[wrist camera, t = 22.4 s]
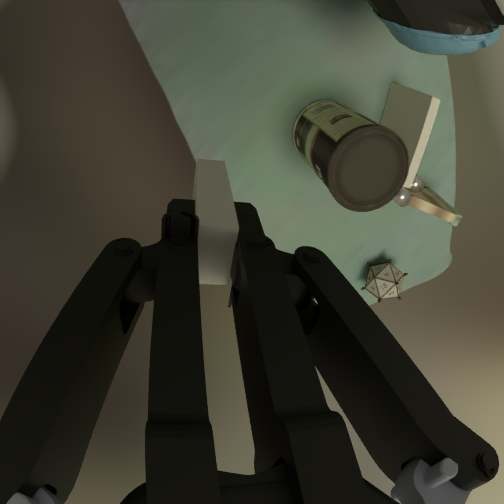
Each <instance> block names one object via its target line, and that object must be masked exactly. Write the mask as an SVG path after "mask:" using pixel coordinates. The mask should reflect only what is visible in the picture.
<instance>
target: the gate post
mask: <svg viewBox="0 0 504 504" xmlns="http://www.w3.org/2000/svg"><path fill="white" fill-rule="evenodd" d="M393 200H394V201H395V202H396V203H397V204H398V205H399V206H401V207H404V206H406V205H408V204H409V202H410V201H411V193H410V192H409V191H408V190H407V189H406V188H404V187H402V189H401V190H400V192H399V193H398V194H397V195H396V196H395V197H394V198H393Z"/></svg>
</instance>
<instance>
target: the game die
mask: <svg viewBox="0 0 504 504" xmlns="http://www.w3.org/2000/svg"><path fill="white" fill-rule="evenodd" d="M390 262H391V259H389V261H388V263H383V264H378V265H373V266H371V264H369V263H367V264H368V266H369V267H370V269H369V273H368V277H367V281H366V284H365V287H363V288H361V290H364V289H366V290H368V291H369V292H370V293H371V294H373V295H374V296H375V297H377V298H378V303H379V302H381V299H388V298H395V297H398V299H399V300H401V298H400V297H399V293H400V289H401V286H402V282H403V277H404V276H406V275H407V274H408V273H404V274H403V273H401V272H400V271H399V270H398V269H397V268H396V267H394V266H393V265H392V264H391V263H390Z"/></svg>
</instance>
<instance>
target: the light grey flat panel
mask: <svg viewBox="0 0 504 504" xmlns="http://www.w3.org/2000/svg"><path fill="white" fill-rule="evenodd" d="M440 101H441V100H439V99H437V98H435V97H433V96H430V95H428V94H425V93H422V92H420V91H417V90H414V89H411V88H408V87H406V86H403V85H400V84H397V83H393V82H392V83H391V87H390V91H389V94H388V98H387V102H386V105H385V109H384V112H383V116H382V119H381V122H380V125H382V126H385V127H387V128H389V129H391V130H393V131H395V132H396V133H397V134H398V135H399V136H400V137H401V138H402V139H403V141H404V142H405V144H406V146H407V149H408V152H409V158H410V166H409V172H408V176H407V179H406V181H405V183H404V185H403V187H406V188H411V185H412V183H413V180H414V178H415V175H416V172H417V170H418V167H419V164H420V162H421V159H422V156H423V153H424V150H425V148H426V145H427V142H428V139H429V136H430V133H431V130H432V127H433V124H434V121H435V117H436V114H437V111H438V108H439V104H440Z"/></svg>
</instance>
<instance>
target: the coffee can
mask: <svg viewBox="0 0 504 504" xmlns="http://www.w3.org/2000/svg"><path fill="white" fill-rule="evenodd" d="M293 142H294V146H295V148H296V150H297V152H298V153H299V154H300V156H301V157H302V158H303V159H305V161H306V162H307V163H308V164H309V165H310V167H311V168H312V169H313V170H314V171H315V173H316V174H317V175H318V176H319V178H320V179H321V180H322V181H323V183H324V184H325V185H326V186H327V188H328V189H329V190H330V192H331V194H332V196H333V197H334V198H335V200H336V201H337V202H338V203H339V204H340V205H342V206H343V207H345V208H346V209H349V210H352V211H356V212H368V211H372V210H375V209H378V208H380V207H382V206H384V205H386V204H387V203H389V202H390V201H391V200H392V199H393V198H394V197H395V196H396V195H397V194H398V193H399V192H400V190H401V189H402V187H403V185H404V183H405V181H406V179H407V176H408V172H409V166H410V158H409V152H408V149H407V146H406V144H405V142H404V141H403V139H402V138H401V137H400V136H399V135H398V134H397V133H396V132H395V131H393V130H391V129H389V128H387V127H385V126H382V125H380V124H378V123H377V122H375V121H373V120H371V119H369V118H368V117H366V116H364V115H362V114H360V113H358V112H356V111H354V110H352V109H350V108H349V107H347V106H345V105H344V104H342V103H340V102H338V101H334V100H321V101H317V102H315V103H312V104H311V105H309V106H307V107H306V108H305V109H304V110H303V111H302V112H301V113H300V114H299V116H298V117H297V119H296V121H295V124H294V127H293Z"/></svg>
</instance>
